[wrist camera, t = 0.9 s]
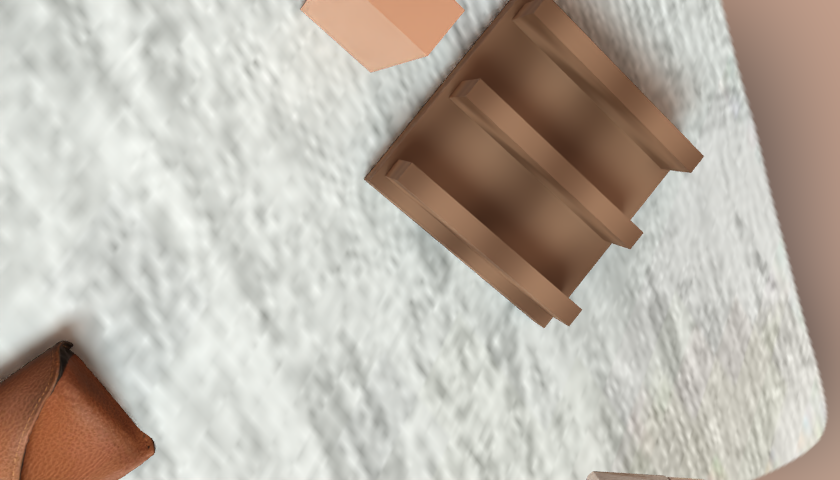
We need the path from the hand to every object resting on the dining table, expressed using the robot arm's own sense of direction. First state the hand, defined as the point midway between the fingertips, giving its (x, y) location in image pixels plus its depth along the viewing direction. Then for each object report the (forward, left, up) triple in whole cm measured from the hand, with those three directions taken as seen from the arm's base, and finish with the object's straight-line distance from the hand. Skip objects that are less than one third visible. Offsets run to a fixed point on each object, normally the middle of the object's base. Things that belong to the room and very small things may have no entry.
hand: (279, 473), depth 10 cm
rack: (+12, +12, -32) cm, 37 cm away
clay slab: (-1, +11, -32) cm, 34 cm away
